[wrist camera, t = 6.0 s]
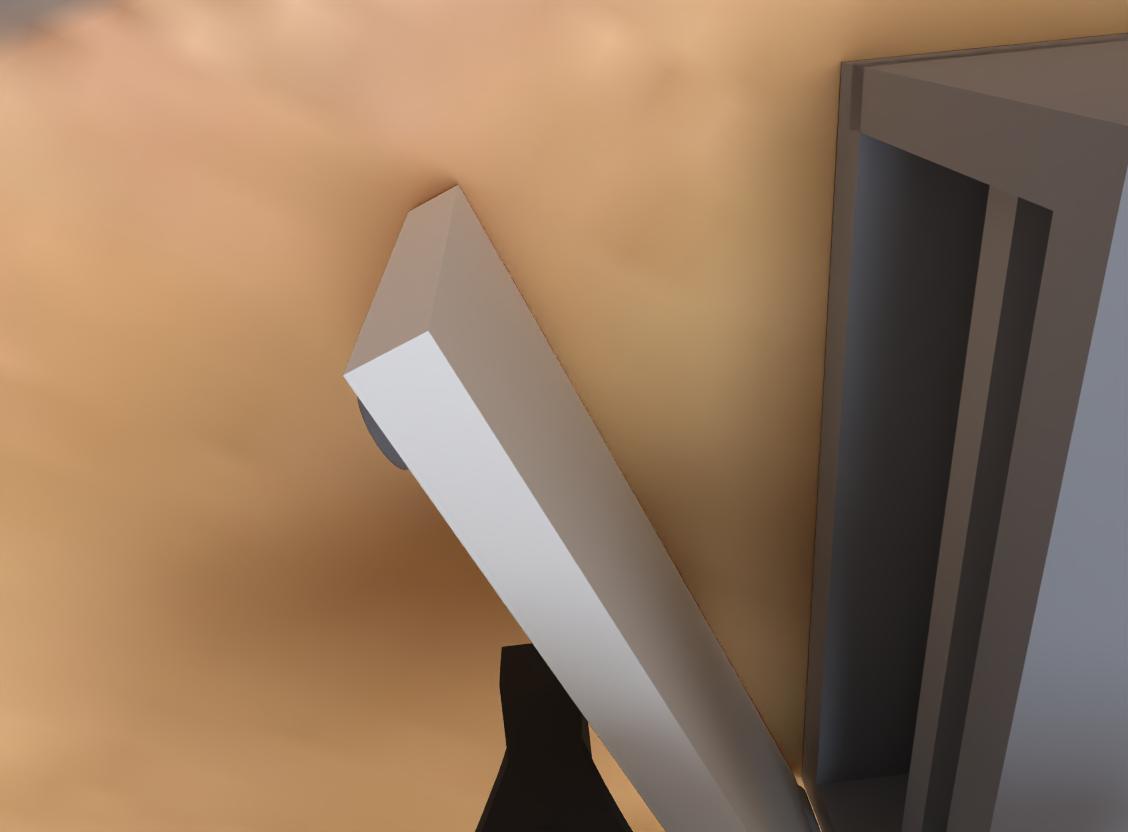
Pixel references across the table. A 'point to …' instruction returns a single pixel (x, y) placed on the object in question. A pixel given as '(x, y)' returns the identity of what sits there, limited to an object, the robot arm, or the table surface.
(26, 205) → the table surface
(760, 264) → the table surface
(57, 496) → the table surface
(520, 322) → the door
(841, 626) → the cabinet
